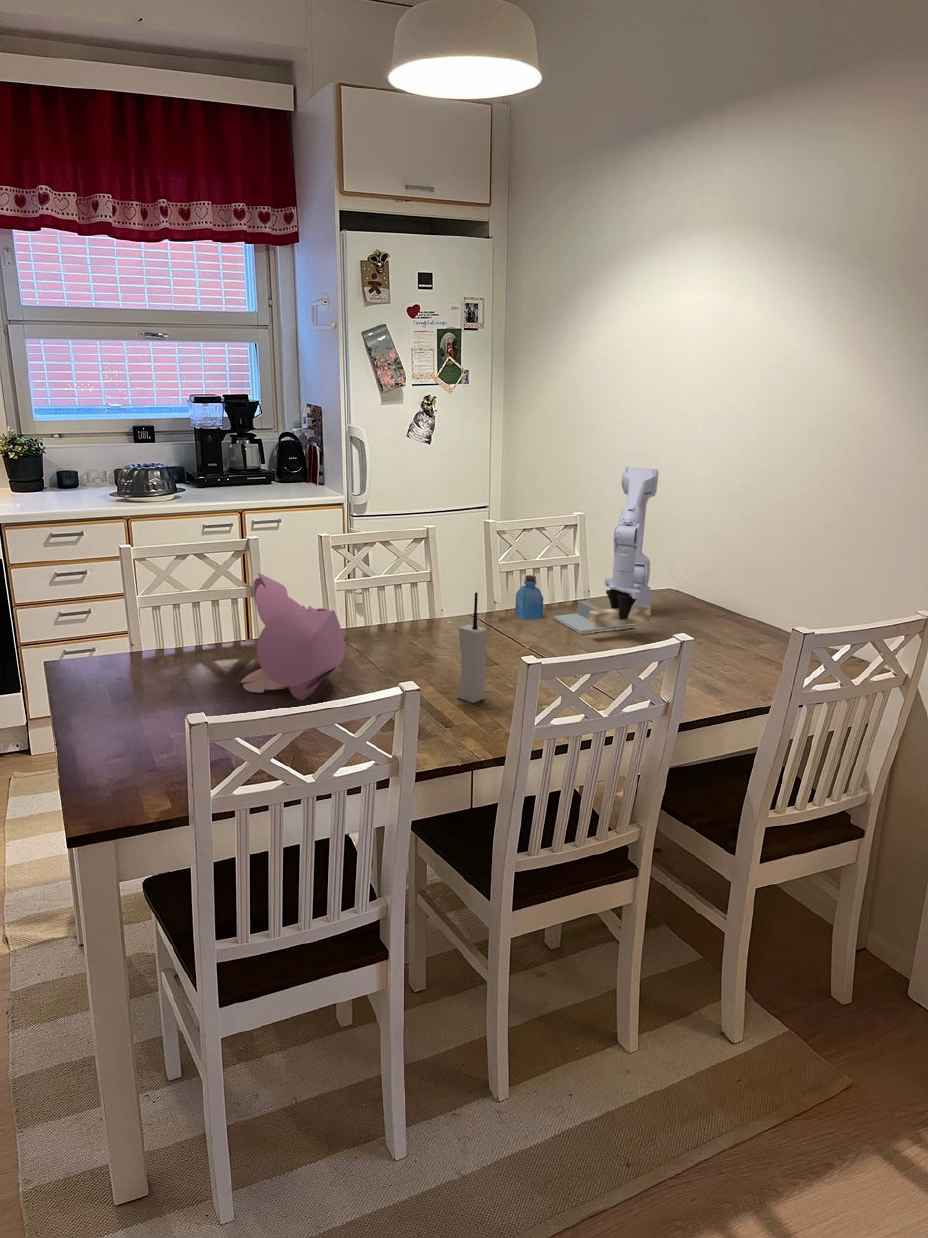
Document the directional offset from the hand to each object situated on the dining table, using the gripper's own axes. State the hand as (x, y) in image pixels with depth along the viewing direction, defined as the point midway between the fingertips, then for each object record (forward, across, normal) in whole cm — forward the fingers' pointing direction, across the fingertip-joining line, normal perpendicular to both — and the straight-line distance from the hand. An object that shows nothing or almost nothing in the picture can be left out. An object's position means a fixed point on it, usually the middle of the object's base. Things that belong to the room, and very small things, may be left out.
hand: (619, 617), depth 253 cm
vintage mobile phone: (+6, +27, -58) cm, 64 cm away
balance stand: (+6, -12, 0) cm, 14 cm away
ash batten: (+2, 0, 0) cm, 2 cm away
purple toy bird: (+6, +3, -94) cm, 94 cm away
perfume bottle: (+6, -26, -14) cm, 30 cm away
